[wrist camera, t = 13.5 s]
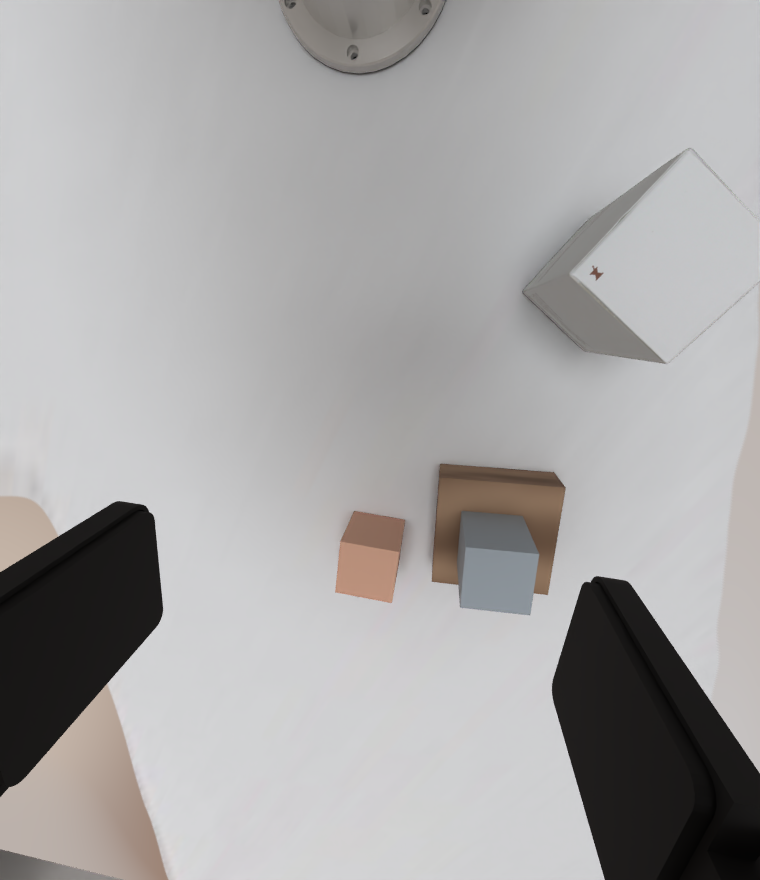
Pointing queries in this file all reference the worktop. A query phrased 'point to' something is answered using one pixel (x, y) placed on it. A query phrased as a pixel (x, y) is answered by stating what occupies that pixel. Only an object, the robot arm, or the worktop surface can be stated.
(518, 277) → the worktop surface
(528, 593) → the grey block
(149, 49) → the worktop surface
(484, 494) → the walnut base
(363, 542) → the terracotta block
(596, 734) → the robot arm
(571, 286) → the supplement box
